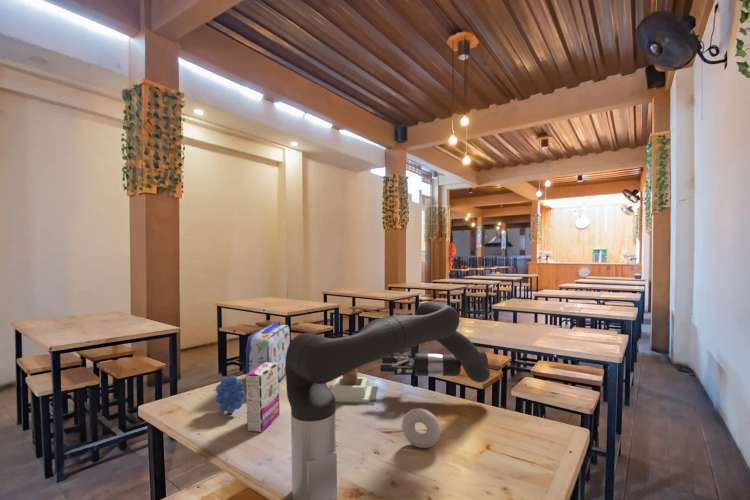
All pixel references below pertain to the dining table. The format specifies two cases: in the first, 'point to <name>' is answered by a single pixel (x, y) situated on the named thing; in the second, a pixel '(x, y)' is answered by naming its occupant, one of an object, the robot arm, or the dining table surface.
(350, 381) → the walnut block
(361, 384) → the holder
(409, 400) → the dining table surface
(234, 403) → the grapes
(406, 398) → the dining table surface
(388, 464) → the dining table surface
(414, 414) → the donut
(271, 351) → the lunch box
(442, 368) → the robot arm
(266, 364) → the candy bar box
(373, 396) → the mat
